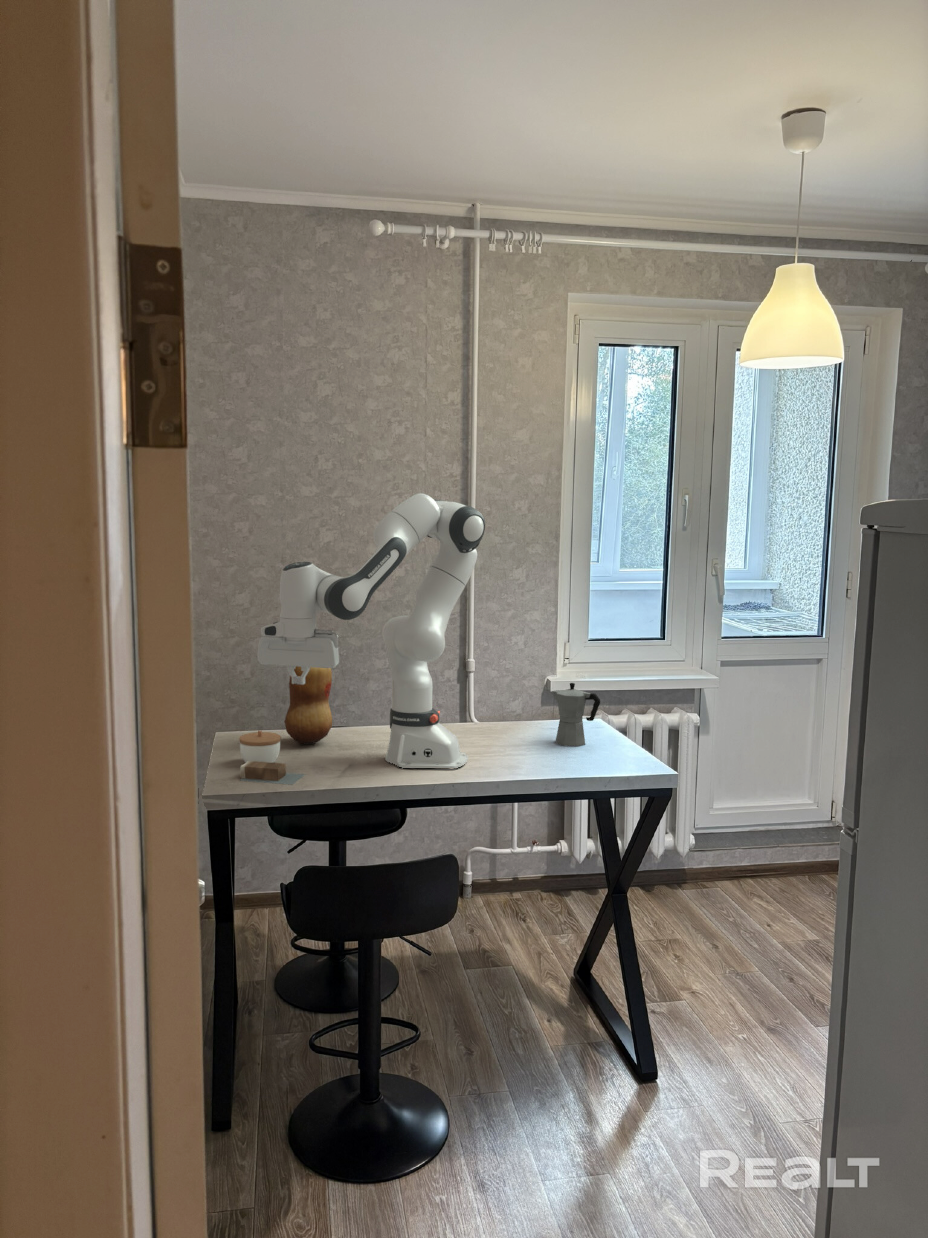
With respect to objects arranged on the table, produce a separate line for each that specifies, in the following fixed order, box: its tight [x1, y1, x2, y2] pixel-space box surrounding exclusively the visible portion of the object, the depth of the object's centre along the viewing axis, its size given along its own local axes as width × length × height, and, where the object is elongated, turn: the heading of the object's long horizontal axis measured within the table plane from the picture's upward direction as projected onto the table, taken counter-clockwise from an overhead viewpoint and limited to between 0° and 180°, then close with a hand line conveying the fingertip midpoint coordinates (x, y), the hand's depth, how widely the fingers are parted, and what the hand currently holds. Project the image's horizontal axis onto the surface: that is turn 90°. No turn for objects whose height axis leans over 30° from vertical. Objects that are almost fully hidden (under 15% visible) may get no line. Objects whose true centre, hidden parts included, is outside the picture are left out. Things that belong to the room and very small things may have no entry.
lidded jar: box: [238, 730, 282, 763], centre depth 247 cm, size 11×11×9 cm
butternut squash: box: [283, 666, 333, 745], centre depth 269 cm, size 14×13×25 cm
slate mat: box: [238, 772, 307, 786], centre depth 234 cm, size 14×9×1 cm, turn 79°
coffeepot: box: [550, 682, 601, 747], centre depth 274 cm, size 15×9×18 cm, turn 61°
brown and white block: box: [240, 761, 287, 781], centre depth 235 cm, size 3×5×10 cm
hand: (298, 684), depth 230 cm, fingers closed
